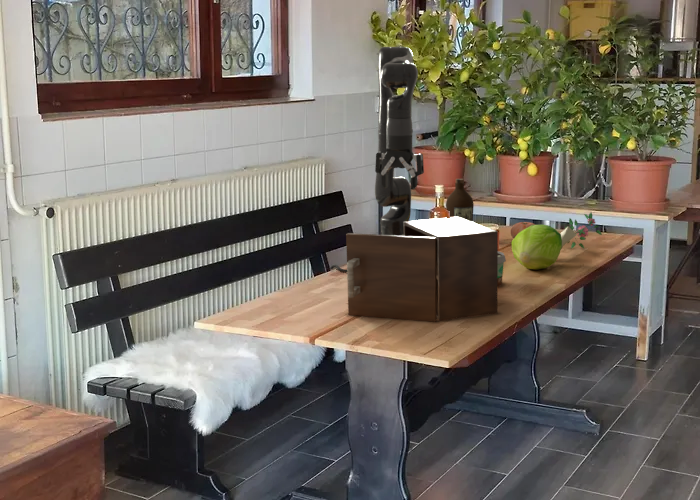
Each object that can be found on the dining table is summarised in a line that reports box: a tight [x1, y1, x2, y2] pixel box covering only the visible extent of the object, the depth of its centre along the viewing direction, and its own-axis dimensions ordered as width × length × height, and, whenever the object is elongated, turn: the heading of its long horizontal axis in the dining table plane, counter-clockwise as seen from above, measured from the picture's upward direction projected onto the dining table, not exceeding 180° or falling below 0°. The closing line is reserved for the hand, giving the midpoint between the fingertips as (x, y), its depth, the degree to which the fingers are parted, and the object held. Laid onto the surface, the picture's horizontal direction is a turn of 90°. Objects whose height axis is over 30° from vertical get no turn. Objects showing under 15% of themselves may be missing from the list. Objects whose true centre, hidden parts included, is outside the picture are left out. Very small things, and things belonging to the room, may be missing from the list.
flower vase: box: [559, 211, 603, 250], centre depth 342 cm, size 12×12×35 cm
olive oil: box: [445, 178, 475, 222], centre depth 361 cm, size 11×11×25 cm
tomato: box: [510, 221, 536, 240], centre depth 362 cm, size 11×11×8 cm
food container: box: [497, 250, 507, 288], centre depth 298 cm, size 12×6×10 cm, turn 168°
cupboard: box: [403, 217, 499, 322], centre depth 273 cm, size 18×26×24 cm
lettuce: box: [511, 223, 563, 271], centre depth 317 cm, size 17×20×15 cm
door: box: [345, 232, 438, 323], centre depth 260 cm, size 7×26×24 cm, turn 69°
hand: (399, 188), depth 275 cm, fingers open, 8 cm apart
